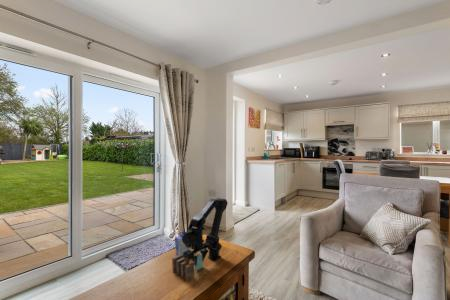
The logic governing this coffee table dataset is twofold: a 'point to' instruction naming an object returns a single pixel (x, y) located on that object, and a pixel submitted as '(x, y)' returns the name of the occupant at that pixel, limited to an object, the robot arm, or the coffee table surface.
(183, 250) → the ink cartridge box
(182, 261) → the domino
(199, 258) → the domino
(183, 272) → the domino
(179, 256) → the domino
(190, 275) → the domino
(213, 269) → the coffee table surface
